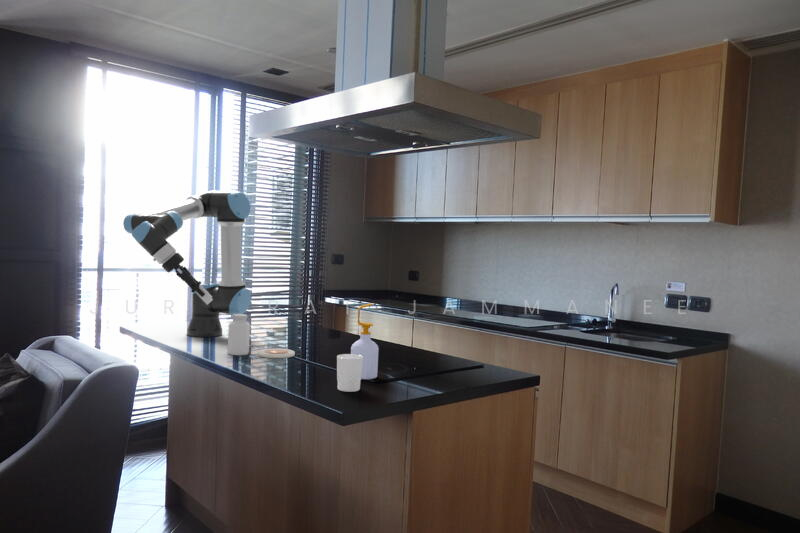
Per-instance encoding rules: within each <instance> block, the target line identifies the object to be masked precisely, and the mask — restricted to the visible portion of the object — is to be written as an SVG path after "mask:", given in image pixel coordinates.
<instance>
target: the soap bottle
mask: <svg viewBox="0 0 800 533" xmlns="http://www.w3.org/2000/svg"><path fill="white" fill-rule="evenodd" d="M372 305H373V303H372V302H371V303H370V302H369V303H367V304H362V305H360V306H359V307H358V309H357V324H358V325H359V326H361V328H362V329H363V330H362V331H361V332H360V338H359V339H358V340H356V341H355V342H354V343H352V344H351V347H350V354H355V355H361V356H363V365H362V375H361V380H373V379H376V378H377V377H378V367H379V350H380V349H379V345H378V344H377V343H376V342H375V341H373V340H372V339H371V336H372V335H371V331H369V329H370V328H371V327H374V323H373V322H361V321H360V311H361V309H363V308H367V307H371V306H372Z"/></svg>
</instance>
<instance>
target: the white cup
mask: <svg viewBox="0 0 800 533" xmlns="http://www.w3.org/2000/svg"><path fill="white" fill-rule="evenodd" d="M362 365H363V356H361V355H355V354H351V353H342V354H338V355H336V381H337V390H339V391H341V392H346V393H347V392H348V393H349V392H350V393H351V392H358V391H360V389H361V380H362V379H361V375H362Z"/></svg>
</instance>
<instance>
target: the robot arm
mask: <svg viewBox="0 0 800 533" xmlns="http://www.w3.org/2000/svg"><path fill="white" fill-rule="evenodd" d="M250 214H251V203H250V199H249V198H248V196H247V195H246V193H244V192H242V191H239V190H238V191H237V190H209V191H205V192H201V193H198V194H194V195H191V196H189V197H187V199H185V200H183V201H181V202H177V203H176V202H175V203H174V204H170V205H166V206H163V207H161V208H157V209H154V210H150V211H147V212H143V213H140V214H136V213H133V214H128V215H126V216H125V218H124V219H123V224H122V225H123V228H124V230H125V232H126V233H128V234H131V236H132V237H133V239H134V240H135V241H136V242H137V243H138V244H139V245H140V246H141V247H142V248H143V249H144V250H145V251H146V252H147V253H148V254H149V256H151V257H152V260H153V261H154V262H157V263H158V264H159V265H161V267H162V268H163V270H165V271H166V272H167V273H170V272H172V271H173V270H175V271H174V272H175V273H176V276H177V277H178V278H180V280H182V281H183V282H185V284H187V286H189V288H190V289H191V291H190V292H191V293H192V297H191V298H192V299H191V300H192V302H191V304H192V305H191V307H192V308H191V319H190V321H189V324H188V327H187V329H186V335H187V336H190V337H196V338H197V337H200V338H209V337H210V338H211V337H220V336H222V335H223V327H222V324H221V320H220V314H226V315H227V314H228V315H232V316H233V315H234V314H244V313H246V311H247V310H248V309H249V307H250V305H251V301H252V293H251V292H250V290H249V289H247V288H246V283H245V281H243V279H242V278H243V277H242V276H243V275H242V272H243V271H242V269H243V268H242V263H243V262H242V226H243V225H244V224H245V222H246V221H245V219H246V218H248V216H249V215H250ZM205 217H206V218H216V223H218V225H219V226H220V255H221V256H220V257H221V259H220V261H221V262H220V263H221V264H220V265H221V266H220V267H221V269H220V270H221V272H220V273H221V274H220V275H221V279H220V281H219V282H217V283H203V284H202V281H200V280H199V281H198V280H197V279H196V278H195V277H194V276H193V275H192V274H191V272H190V271H189V270H188V268H187V267H186V266H184V265H181V263H182V262H183V261H185V258H184V257H183V256H182V255H181V254H180V253H179V252H177V251H176V249H175V248H174V246H172V244H170V242H169V241H167V239H169V237H171V236H172V235H174V234H175V233H176V232H178V231H179V230H180V229H181V228H182V227H183V225H184V221H186V220H189V219H192V218H193V219H199V218H200V219H201V218H205Z"/></svg>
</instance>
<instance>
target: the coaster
mask: <svg viewBox="0 0 800 533" xmlns="http://www.w3.org/2000/svg"><path fill="white" fill-rule="evenodd" d="M295 353H296V351H294V350H292V349H288V348H287V349H286V348H262V349H259V350H257V356H258V357H260V358H265V359H266V358H267V359H289V358H293V357H295Z"/></svg>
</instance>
